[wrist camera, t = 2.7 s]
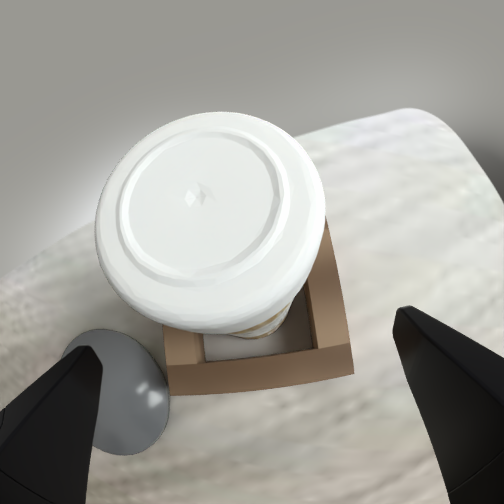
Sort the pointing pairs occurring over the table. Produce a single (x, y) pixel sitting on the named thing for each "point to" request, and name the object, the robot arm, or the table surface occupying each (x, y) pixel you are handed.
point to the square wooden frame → (277, 365)
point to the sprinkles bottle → (212, 224)
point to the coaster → (126, 393)
